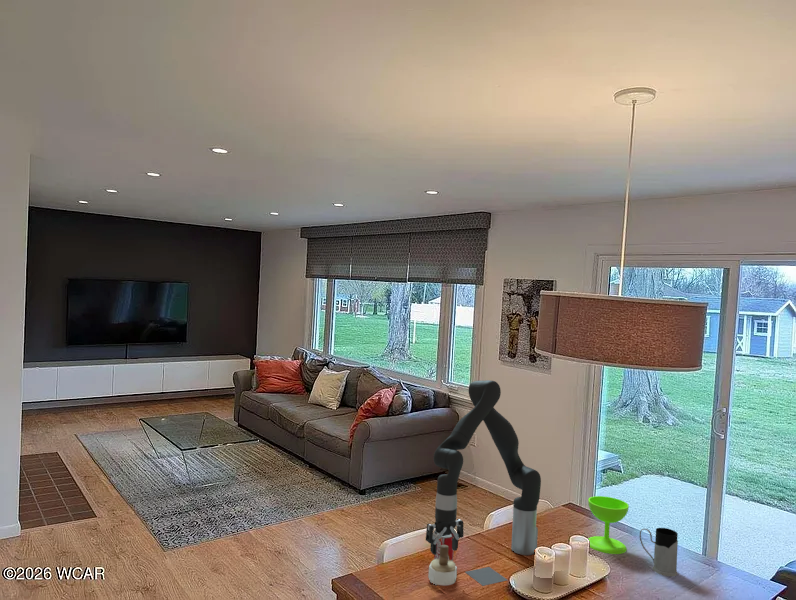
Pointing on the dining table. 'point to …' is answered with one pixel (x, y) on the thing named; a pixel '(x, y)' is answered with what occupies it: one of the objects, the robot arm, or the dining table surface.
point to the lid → (443, 561)
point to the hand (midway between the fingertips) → (444, 551)
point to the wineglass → (607, 523)
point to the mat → (486, 576)
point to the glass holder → (664, 551)
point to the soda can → (445, 541)
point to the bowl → (442, 576)
